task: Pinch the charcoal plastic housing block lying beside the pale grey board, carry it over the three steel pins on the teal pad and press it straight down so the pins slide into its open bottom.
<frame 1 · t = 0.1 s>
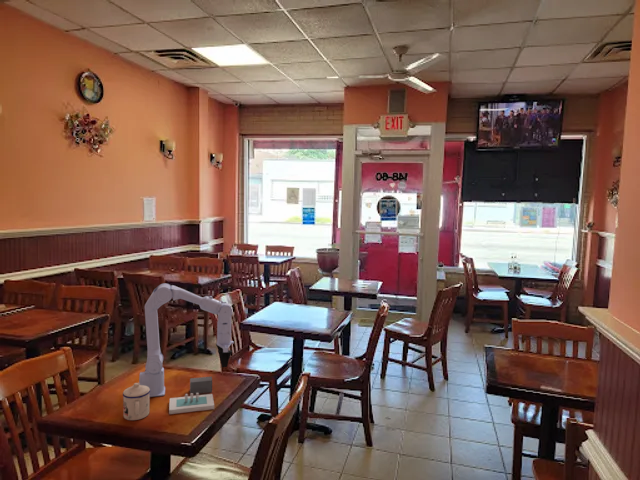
hand: (223, 363, 180), 10 cm above the table, tool pointing down, fingers open, 7 cm apart
teacup with lid: (136, 417, 153), on the table
housing: (201, 391, 175), on the table
pin board: (191, 405, 162), on the table
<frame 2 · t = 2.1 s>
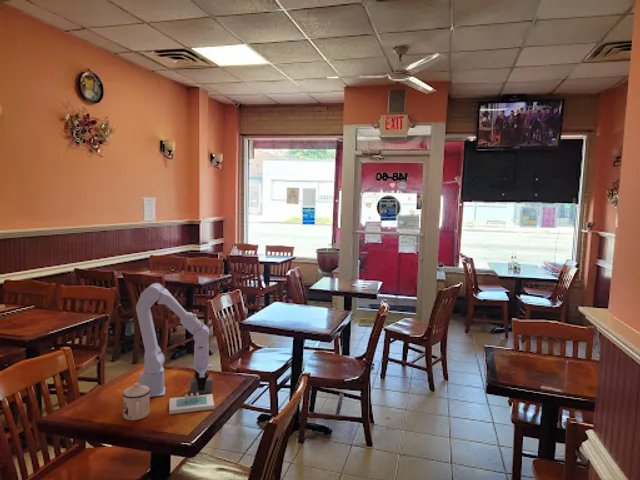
hand: (201, 387, 175), 1 cm above the table, tool pointing down, fingers closed on housing, 4 cm apart
housing: (201, 391, 175), on the table, touching gripper
everything else where it was.
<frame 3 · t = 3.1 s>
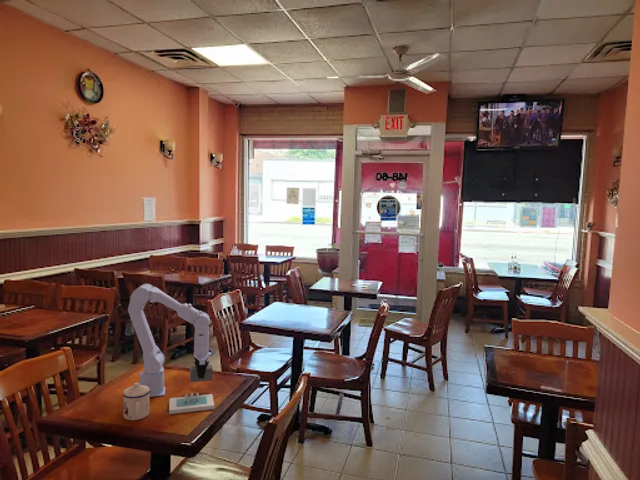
hand: (201, 375, 174), 7 cm above the table, tool pointing down, fingers closed on housing, 4 cm apart
housing: (201, 379, 175), point 5 cm above the table, touching gripper
everything else where it was.
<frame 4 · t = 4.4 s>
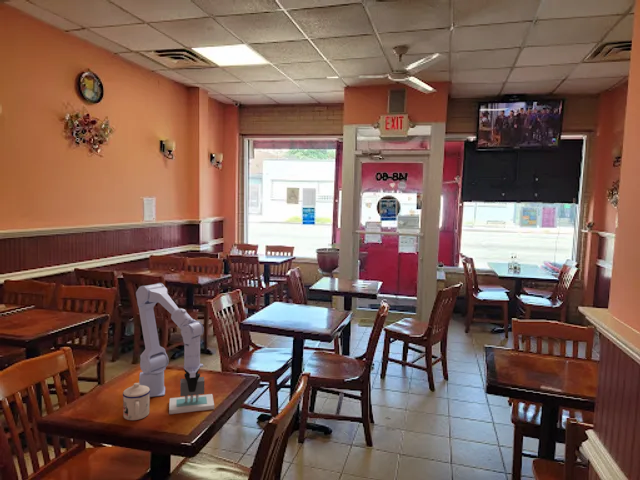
hand: (191, 388, 162), 7 cm above the table, tool pointing down, fingers closed on housing, 4 cm apart
housing: (192, 392, 162), point 5 cm above the table, touching gripper
everything else where it was.
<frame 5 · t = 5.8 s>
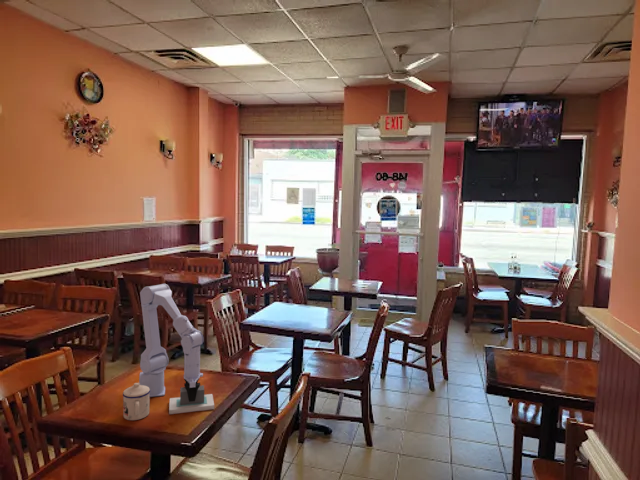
hand: (191, 398, 162), 3 cm above the table, tool pointing down, fingers closed on housing, 4 cm apart
housing: (192, 401, 162), point 2 cm above the table, touching gripper, pin board
everything else where it was.
when the fingers open (3 cm above the table, at t = 6.5 s): housing stays where it is, resting on pin board.
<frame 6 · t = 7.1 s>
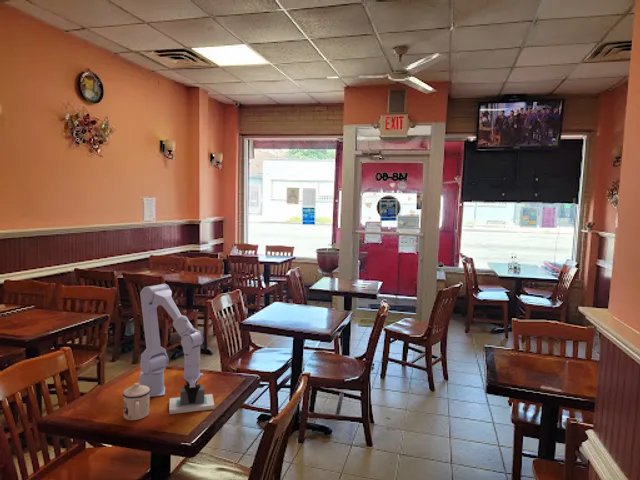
hand: (191, 398, 162), 3 cm above the table, tool pointing down, fingers open, 7 cm apart
housing: (192, 401, 162), point 2 cm above the table, touching pin board
everything else where it was.
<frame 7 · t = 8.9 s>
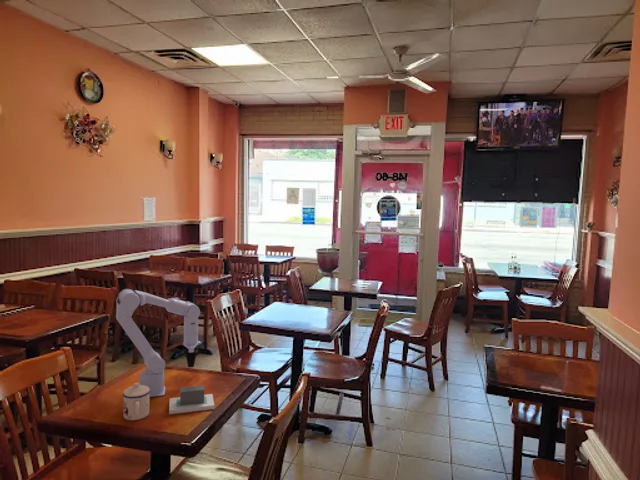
hand: (190, 363, 180), 9 cm above the table, tool pointing down, fingers open, 7 cm apart
nothing on the table moved.
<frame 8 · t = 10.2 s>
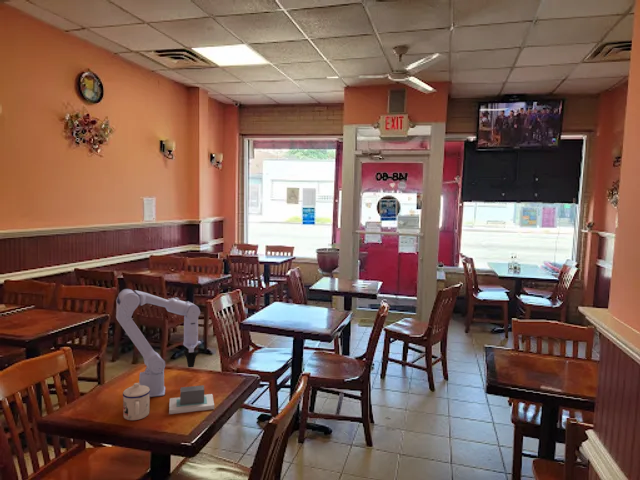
hand: (190, 363, 180), 9 cm above the table, tool pointing down, fingers open, 7 cm apart
nothing on the table moved.
at the end: housing 0.2 cm off-centre on the pin board, point 1.6 cm above the pin board's base; housing tilted 0°; the gripper is holding nothing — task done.
